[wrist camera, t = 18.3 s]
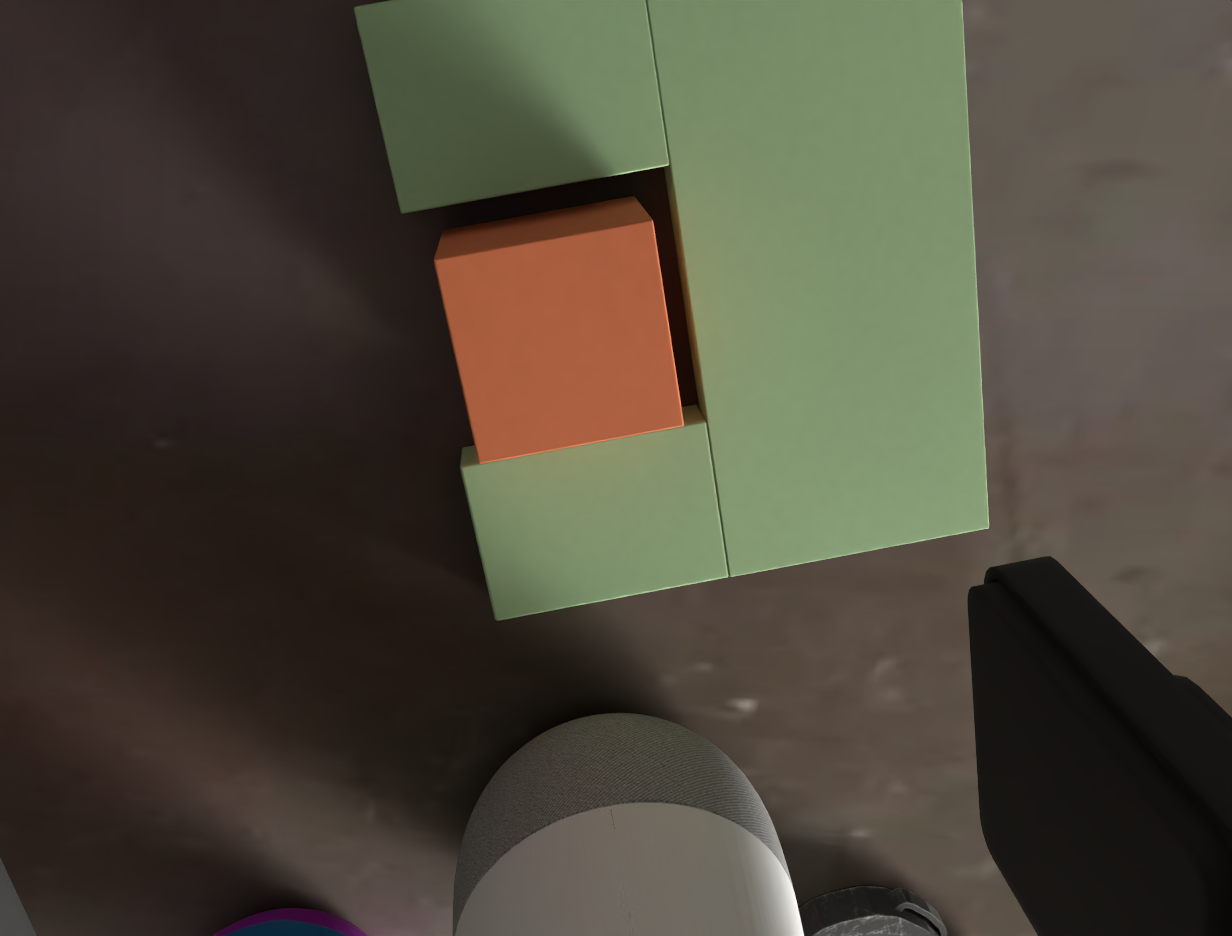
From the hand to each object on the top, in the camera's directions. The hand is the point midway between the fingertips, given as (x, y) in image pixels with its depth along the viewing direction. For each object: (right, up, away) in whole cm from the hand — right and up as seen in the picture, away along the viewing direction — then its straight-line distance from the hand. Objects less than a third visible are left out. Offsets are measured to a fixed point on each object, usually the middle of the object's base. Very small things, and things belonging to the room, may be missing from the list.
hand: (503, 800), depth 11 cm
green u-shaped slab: (+3, +8, +20) cm, 22 cm away
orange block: (-1, +7, +20) cm, 21 cm away
